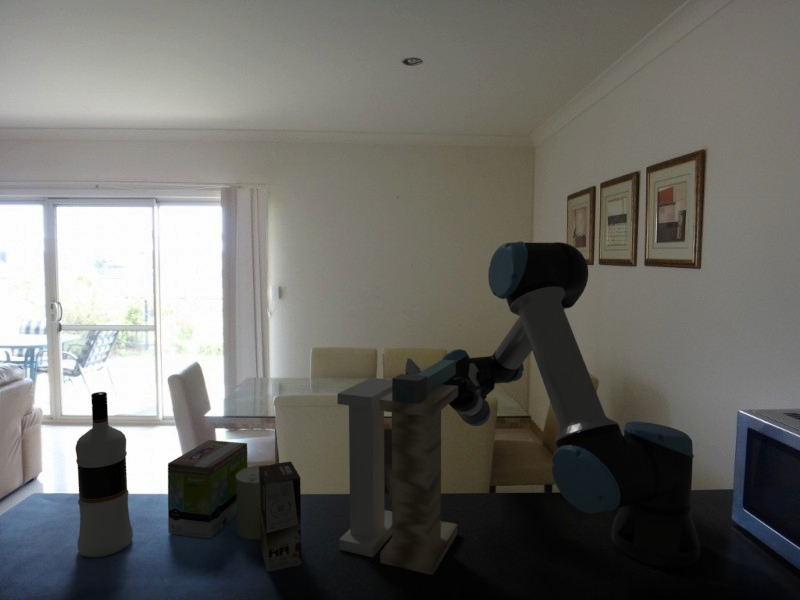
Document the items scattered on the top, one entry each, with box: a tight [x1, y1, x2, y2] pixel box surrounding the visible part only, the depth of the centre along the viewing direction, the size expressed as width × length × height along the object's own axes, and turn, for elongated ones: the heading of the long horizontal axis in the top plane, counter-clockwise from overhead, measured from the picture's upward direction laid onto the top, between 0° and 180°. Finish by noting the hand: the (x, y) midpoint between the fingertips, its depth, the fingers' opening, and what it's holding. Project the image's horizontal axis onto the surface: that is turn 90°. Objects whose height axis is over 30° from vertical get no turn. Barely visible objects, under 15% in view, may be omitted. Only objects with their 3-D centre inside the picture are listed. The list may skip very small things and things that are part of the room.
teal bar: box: [391, 359, 456, 404], centre depth 103 cm, size 5×25×4 cm, turn 157°
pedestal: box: [379, 384, 458, 576], centre depth 99 cm, size 10×15×30 cm, turn 157°
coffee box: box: [259, 461, 302, 573], centre depth 97 cm, size 9×6×16 cm
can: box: [236, 464, 268, 540], centre depth 108 cm, size 9×9×12 cm
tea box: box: [167, 439, 249, 539], centre depth 111 cm, size 15×10×15 cm
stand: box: [336, 377, 392, 558], centre depth 104 cm, size 7×14×30 cm, turn 157°
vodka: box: [74, 391, 134, 559], centre depth 100 cm, size 9×9×30 cm
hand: (438, 366), depth 108 cm, fingers open, 13 cm apart
